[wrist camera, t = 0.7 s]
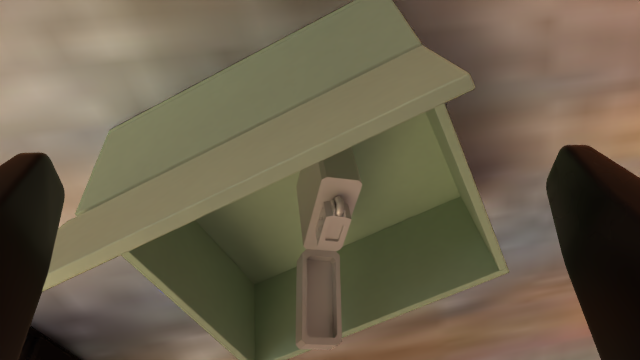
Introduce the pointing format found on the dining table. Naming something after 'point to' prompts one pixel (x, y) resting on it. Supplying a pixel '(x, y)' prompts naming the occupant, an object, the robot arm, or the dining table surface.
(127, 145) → the carton
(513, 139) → the dining table surface
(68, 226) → the flap
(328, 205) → the lighter
